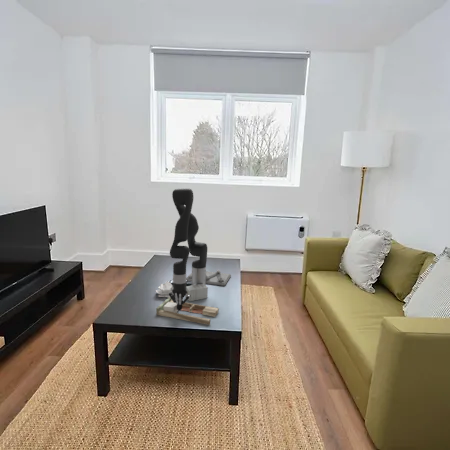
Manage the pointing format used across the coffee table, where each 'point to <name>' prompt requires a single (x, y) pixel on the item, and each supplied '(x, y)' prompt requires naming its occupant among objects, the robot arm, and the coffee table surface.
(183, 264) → the robot arm
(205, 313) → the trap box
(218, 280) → the grey board with linkage
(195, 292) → the supplement box
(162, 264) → the coffee table surface
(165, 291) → the lotus flower
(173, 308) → the cream block
